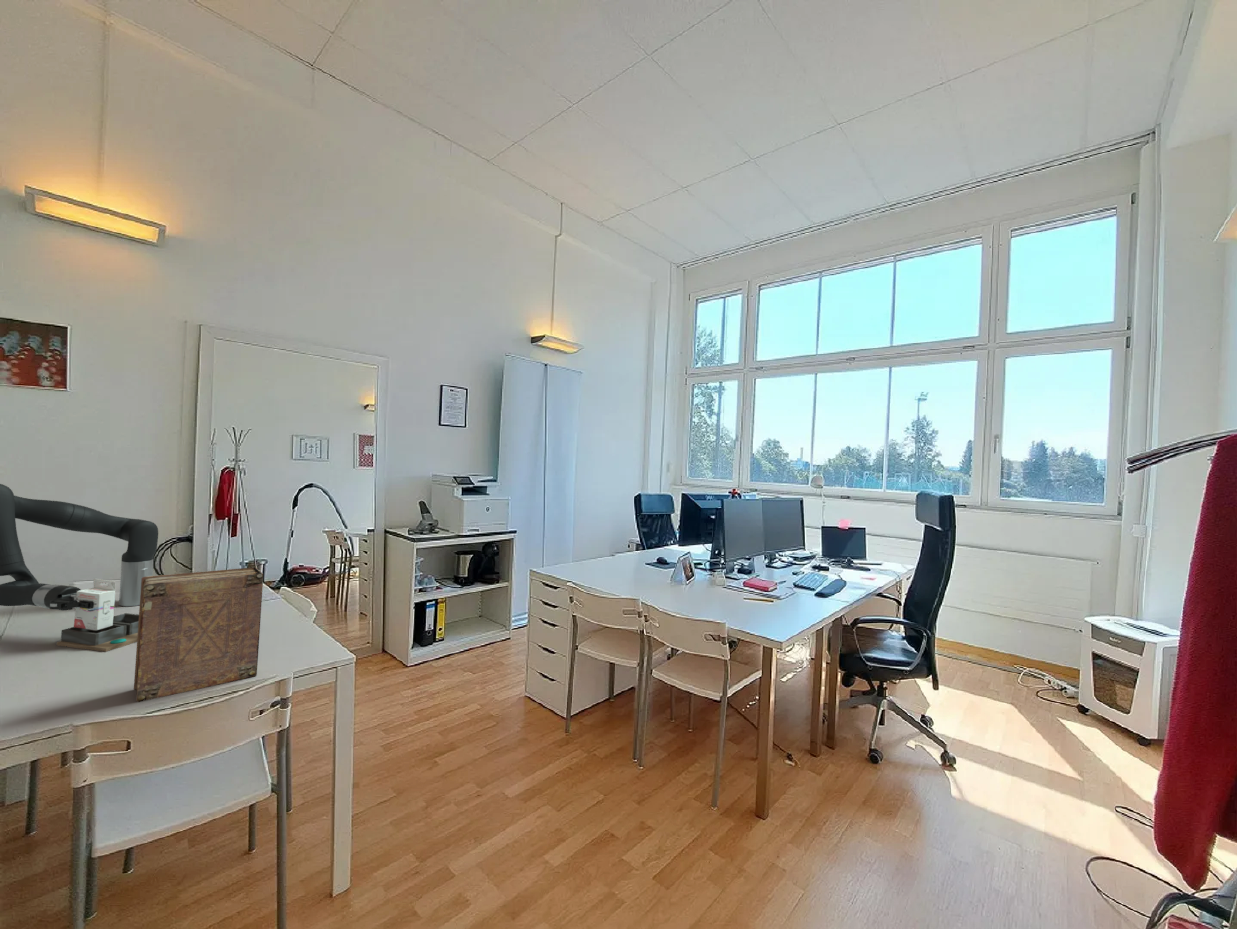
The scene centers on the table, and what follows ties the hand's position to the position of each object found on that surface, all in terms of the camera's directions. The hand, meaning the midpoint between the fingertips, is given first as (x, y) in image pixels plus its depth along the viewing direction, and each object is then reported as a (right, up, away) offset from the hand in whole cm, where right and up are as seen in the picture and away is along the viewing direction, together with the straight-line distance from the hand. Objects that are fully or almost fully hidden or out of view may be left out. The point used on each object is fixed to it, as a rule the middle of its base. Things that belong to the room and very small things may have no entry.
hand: (102, 602), depth 159 cm
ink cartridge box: (-3, -8, 0) cm, 9 cm away
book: (+49, -16, -21) cm, 56 cm away
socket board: (0, -13, +5) cm, 14 cm away
